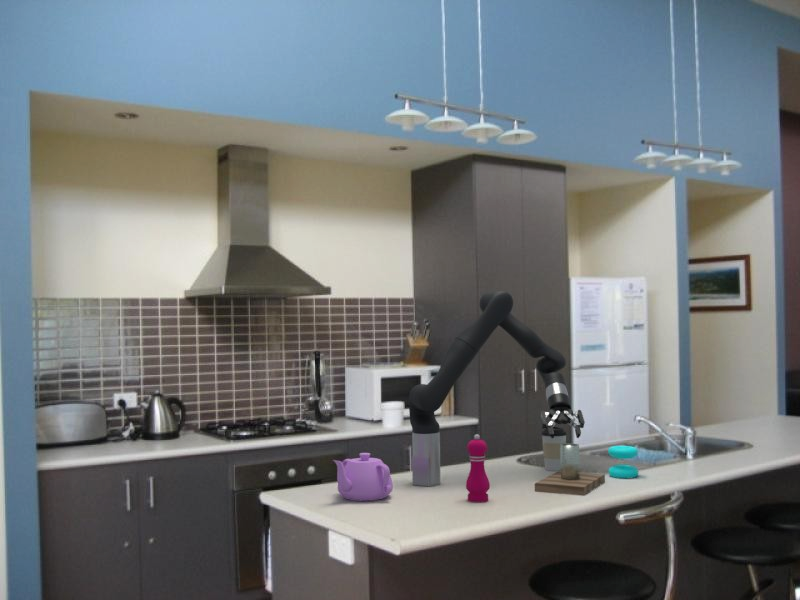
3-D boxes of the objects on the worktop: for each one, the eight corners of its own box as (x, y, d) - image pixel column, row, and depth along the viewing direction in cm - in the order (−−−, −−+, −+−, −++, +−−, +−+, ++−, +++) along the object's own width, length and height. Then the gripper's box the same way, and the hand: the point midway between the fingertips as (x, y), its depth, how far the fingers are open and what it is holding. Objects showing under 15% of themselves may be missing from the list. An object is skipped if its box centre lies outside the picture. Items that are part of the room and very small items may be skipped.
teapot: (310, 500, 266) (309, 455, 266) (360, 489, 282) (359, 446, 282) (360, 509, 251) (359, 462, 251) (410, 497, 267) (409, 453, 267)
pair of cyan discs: (637, 445, 301) (638, 449, 291) (637, 474, 301) (639, 479, 291) (607, 444, 303) (608, 449, 294) (608, 473, 303) (608, 478, 293)
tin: (576, 480, 276) (575, 446, 277) (558, 479, 279) (557, 445, 280) (582, 477, 282) (581, 443, 282) (564, 476, 285) (563, 442, 285)
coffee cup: (567, 471, 308) (566, 429, 308) (541, 471, 309) (540, 429, 310) (567, 467, 317) (566, 426, 317) (542, 466, 318) (541, 426, 319)
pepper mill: (474, 496, 266) (473, 432, 267) (494, 499, 262) (493, 433, 262) (461, 500, 261) (460, 434, 261) (481, 503, 256) (480, 436, 257)
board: (584, 495, 266) (583, 487, 266) (534, 491, 274) (534, 483, 274) (604, 481, 287) (604, 474, 287) (558, 478, 295) (558, 471, 295)
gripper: (538, 392, 296) (545, 430, 284) (579, 391, 296) (588, 429, 284) (536, 406, 301) (543, 443, 289) (576, 405, 301) (585, 443, 290)
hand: (565, 436), depth 287 cm, fingers open, 8 cm apart
